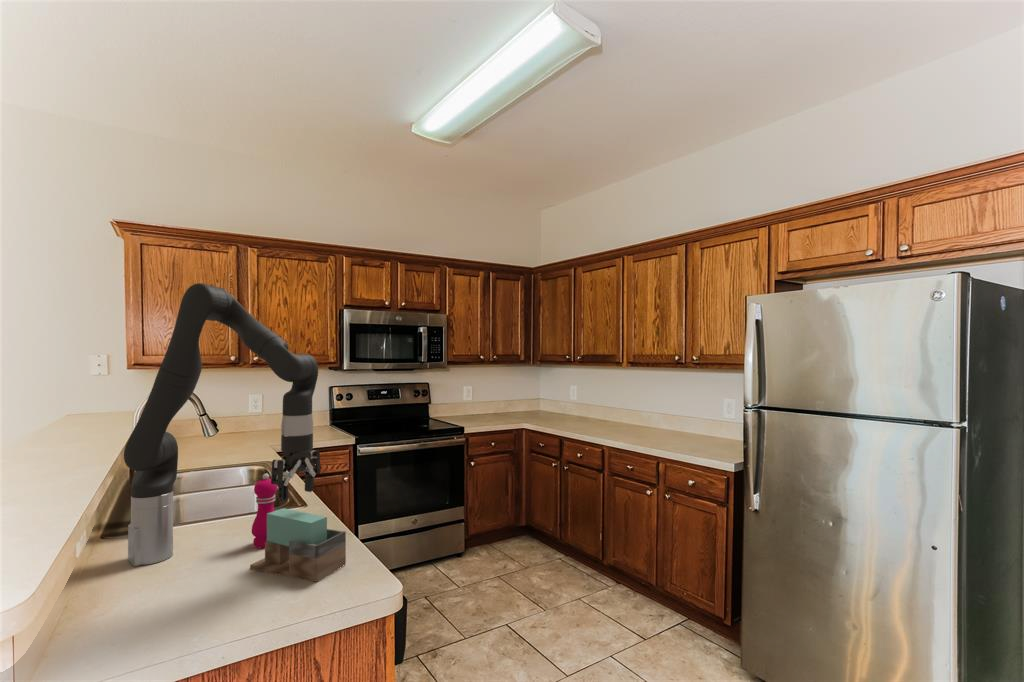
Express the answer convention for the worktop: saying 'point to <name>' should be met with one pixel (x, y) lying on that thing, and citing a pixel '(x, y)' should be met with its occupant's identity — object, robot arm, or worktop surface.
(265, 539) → the pepper mill
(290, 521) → the teal rectangular block
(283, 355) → the robot arm
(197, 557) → the worktop surface
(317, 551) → the bracket stand
